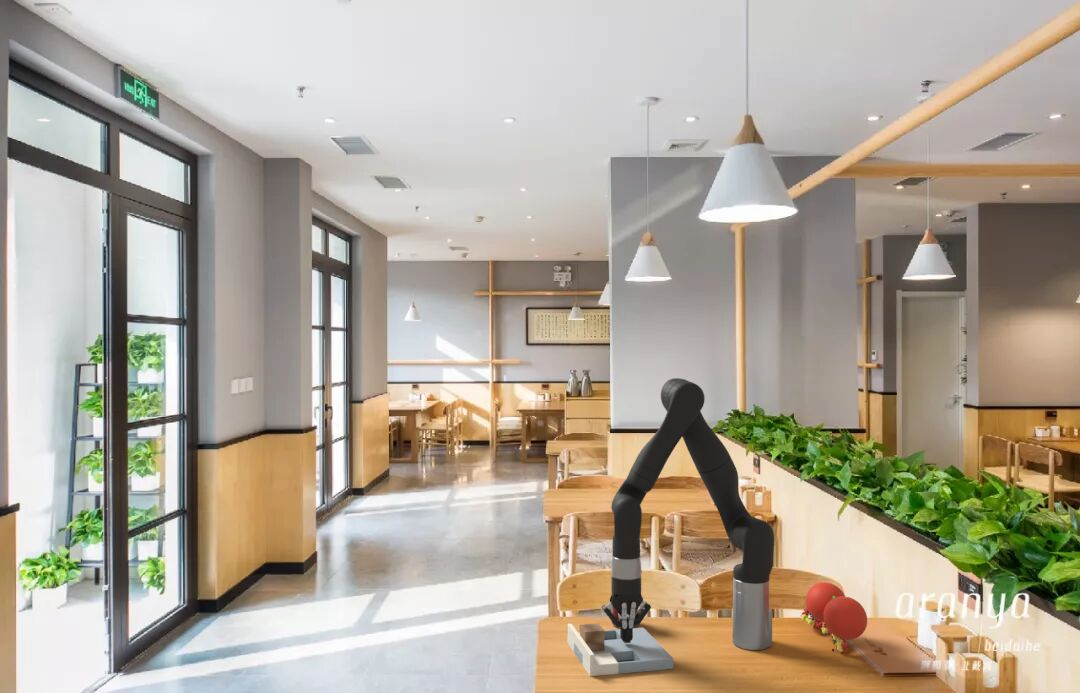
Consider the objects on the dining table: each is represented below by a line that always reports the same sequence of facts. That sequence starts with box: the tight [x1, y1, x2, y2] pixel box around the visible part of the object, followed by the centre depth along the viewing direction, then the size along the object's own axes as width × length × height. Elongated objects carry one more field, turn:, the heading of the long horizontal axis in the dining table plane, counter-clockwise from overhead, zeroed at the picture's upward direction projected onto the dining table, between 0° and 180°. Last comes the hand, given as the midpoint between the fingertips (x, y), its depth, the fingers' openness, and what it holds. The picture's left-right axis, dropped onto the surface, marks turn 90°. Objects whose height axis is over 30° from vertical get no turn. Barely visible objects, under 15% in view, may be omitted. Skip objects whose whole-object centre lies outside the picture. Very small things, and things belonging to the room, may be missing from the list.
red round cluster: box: [800, 581, 868, 653], centre depth 209 cm, size 25×11×16 cm, turn 9°
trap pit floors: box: [604, 639, 634, 662], centre depth 199 cm, size 6×20×1 cm, turn 13°
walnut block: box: [579, 623, 605, 652], centre depth 197 cm, size 5×5×5 cm
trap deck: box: [567, 627, 674, 677], centre depth 199 cm, size 21×21×2 cm
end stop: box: [567, 623, 594, 666], centre depth 196 cm, size 1×21×2 cm, turn 13°
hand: (626, 641), depth 199 cm, fingers closed
